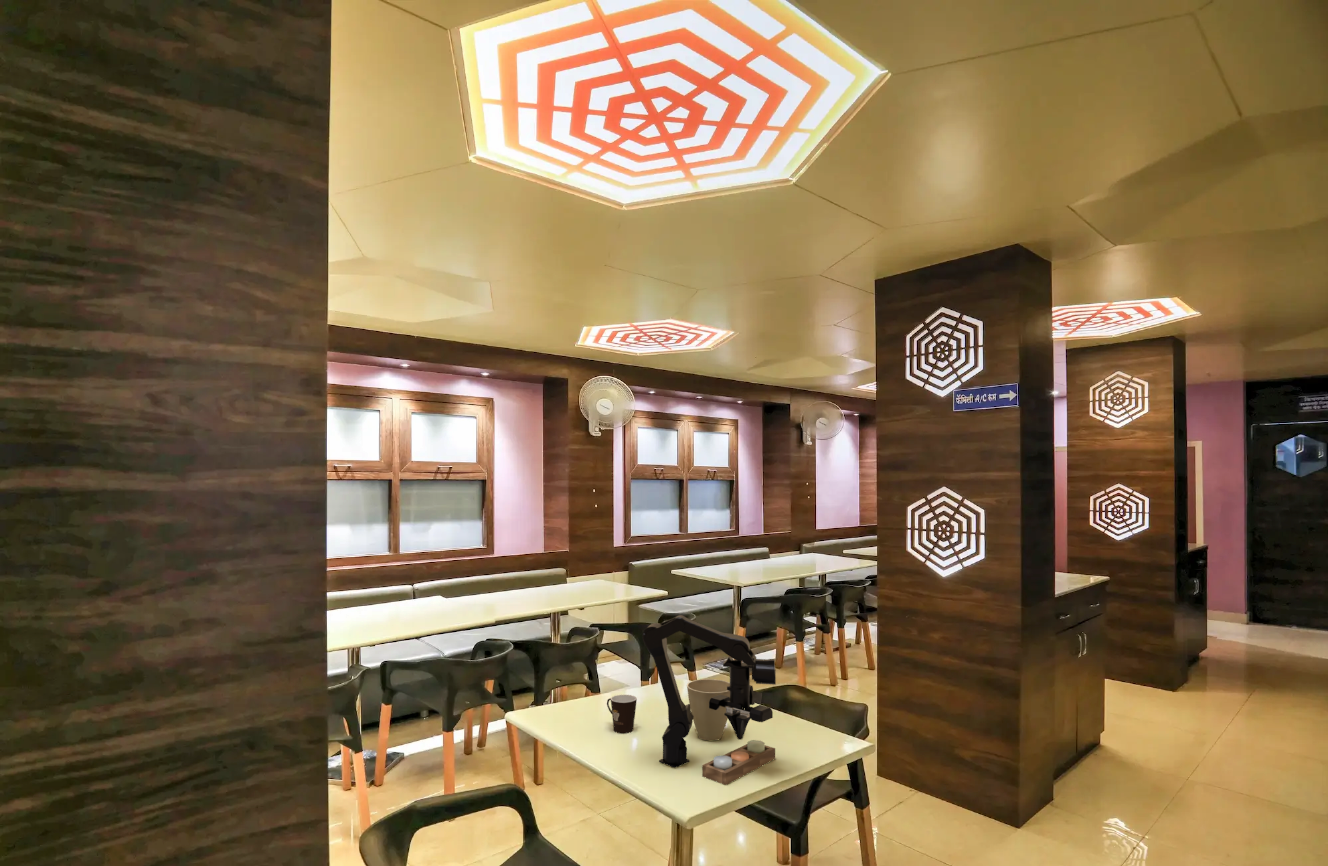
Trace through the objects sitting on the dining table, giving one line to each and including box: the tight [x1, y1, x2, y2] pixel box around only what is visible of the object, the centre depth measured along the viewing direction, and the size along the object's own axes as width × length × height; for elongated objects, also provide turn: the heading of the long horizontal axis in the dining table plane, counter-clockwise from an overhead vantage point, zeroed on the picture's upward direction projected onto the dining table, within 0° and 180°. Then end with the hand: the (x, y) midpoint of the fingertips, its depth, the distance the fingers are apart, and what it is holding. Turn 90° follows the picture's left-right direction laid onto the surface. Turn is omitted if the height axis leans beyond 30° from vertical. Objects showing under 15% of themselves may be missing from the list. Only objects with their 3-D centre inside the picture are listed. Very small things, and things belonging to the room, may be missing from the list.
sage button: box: [746, 739, 765, 754], centre depth 191 cm, size 5×5×3 cm
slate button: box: [713, 754, 732, 771], centre depth 179 cm, size 5×5×3 cm
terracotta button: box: [731, 751, 749, 762], centre depth 185 cm, size 5×5×3 cm
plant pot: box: [686, 678, 730, 741], centre depth 209 cm, size 15×15×16 cm
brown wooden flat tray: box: [701, 743, 776, 786], centre depth 185 cm, size 8×24×3 cm, turn 138°
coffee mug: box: [606, 694, 638, 735], centre depth 216 cm, size 12×9×10 cm
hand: (740, 739), depth 186 cm, fingers closed
